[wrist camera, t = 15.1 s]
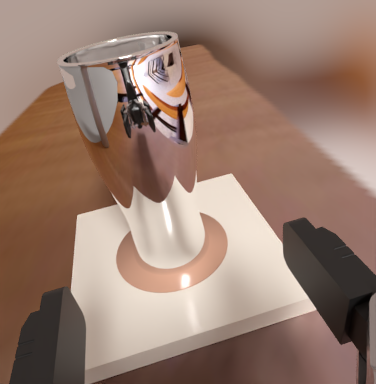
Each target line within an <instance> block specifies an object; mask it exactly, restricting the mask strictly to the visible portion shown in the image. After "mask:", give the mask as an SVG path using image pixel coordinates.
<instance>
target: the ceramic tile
mask: <svg viewBox="0 0 376 384" xmlns="http://www.w3.org/2000/svg"><path fill="white" fill-rule="evenodd" d="M197 203H198V208H199V213H200V216H201V218H202V221H203V223H204V225H205V227H206V230H207V232H208V235H209V240H210V243H209V249H208V251H207V253H206V255H205V256H204V258H203V259H202V260H201V261H200V262H199V263H198V264H197V265H195V266H194V267H192V268H191V269H189V270H187V271H184V272H182V273H179V274H174V275H165V276H163V275H155V274H151V273H148V272H146V271H145V270H143V269H142V268H141V267H140V266H139V265H138V264H137V262H136V260H135V257H134V252H133V242H132V235H131V230H130V227H129V224H128V222H127V220H126V217H125V215H124V214H123V212H122V210H121V209H120V207H119V205H118V204H117V205H113V206H110V207H106V208H102V209H98V210H95V211H91V212H87V213H84V214H80V215H77V226H76V237H75V249H74V261H73V272H72V284H71V293H72V295H73V296H74V298H75V300H76V302H77V303H78V305H79V307H80V309H81V310H82V312H83V315H84V318H85V322H86V353H85V384H91V383H94V382H97V381H100V380H103V379H106V378H109V377H113V376H116V375H119V374H122V373H125V372H128V371H131V370H134V369H137V368H140V367H143V366H146V365H149V364H152V363H155V362H158V361H161V360H165V359H168V358H171V357H174V356H177V355H180V354H183V353H186V352H189V351H192V350H195V349H198V348H201V347H204V346H207V345H210V344H213V343H217V342H220V341H223V340H226V339H229V338H232V337H235V336H238V335H241V334H244V333H247V332H250V331H253V330H256V329H259V328H262V327H265V326H269V325H272V324H275V323H278V322H281V321H284V320H287V319H290V318H293V317H296V316H299V315H302V314H305V313H308V312H311V311H314V310H317V309H316V308H315V306H314V305H313V303H312V302H311V300H310V299H309V297H308V296H307V294H306V293H305V292H304V290H303V289H302V287H301V286H300V284H299V283H298V281H297V280H296V278H295V277H294V275H293V274H292V272H291V271H290V270H289V268H288V266H287V264H286V262H285V259H284V256H283V244H282V243H281V241H280V240H279V239H278V237H277V236H276V234H275V233H274V232H273V230H272V229H271V227H270V226H269V225H268V223H267V222H266V220H265V219H264V218H263V216H262V215H261V214H260V212H259V211H258V209H257V208H256V207H255V205H254V204H253V202H252V201H251V200H250V198H249V197H248V196H247V194H246V193H245V191H244V190H243V189H242V187H241V186H240V184H239V183H238V182H237V180H236V179H235V177H234V176H233V175H232V173H231V174H228V175H224V176H220V177H217V178H213V179H209V180H205V181H202V182H198V183H197Z"/></svg>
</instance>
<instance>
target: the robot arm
mask: <svg viewBox="0 0 376 384" xmlns="http://www.w3.org/2000/svg"><path fill="white" fill-rule="evenodd" d="M283 256H284V259H285V262H286V264H287V266H288V268H289V270H290V271H291V272H292V274H293V275H294V277H295V278H296V280H297V281H298V283H299V284H300V286H301V287H302V289H303V290H304V292H305V293H306V294H307V296H308V297H309V299H310V300H311V302H312V303H313V305H314V306H315V308H316V309H317V311H318V312H319V314H320V315H321V316H322V318H323V319H324V321H325V322H326V324H327V325H328V327H329V328H330V330H331V331H332V333H333V334H334V336H335V337H336V338H337V340H338V341H339V343H340V344H341V345H342V344H345V343H348V342H351V341H352V342H353V343H354V345H355V346H356V348H357V349H358V350H357V369H356V384H376V275H375V274H374V273H373V272H372V271H371V270H370V269H369V268H368V267H367V266H366V265H365V264H364V263H363V262H362V261H361V260H360V259H359V258H358V257H357V256H356V255H354V252H353V251H352V250H351V249H350V248H349V247H348V246H346V244H345V243H344V242H343V241H342V240H341V239H340V238H339V237H338V236H337V235H336V234H335V233H333V232H331V231H329V230H327V229H325V228H323V227H320V228H317V229H315V227H314V226H313V225H312V224H311V223H310V222H309V221H308V220H307V219H306V218H300V219H297V220H293V221H290V222H286V223H284V225H283ZM85 353H86V322H85V318H84V315H83V312H82V310H81V309H80V307H79V305H78V303H77V302H76V300H75V298H74V296H73V295H72V293H71V291H70V289H69V288H68V287H62V288H59V289H55V290H52V291H49V292H45V293H44V294H43V295H42V299H41V305H40V310H39V311H36V312H33V313H31V314H30V315H29V317H28V319H27V320H26V322H25V323H24V325H23V327H22V328H21V333H20V337H19V342H18V347H17V351H16V356H15V358H16V360H15V361H14V365H13V369H12V374H11V378H10V383H9V384H85Z"/></svg>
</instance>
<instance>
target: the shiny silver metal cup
mask: <svg viewBox="0 0 376 384" xmlns="http://www.w3.org/2000/svg"><path fill="white" fill-rule="evenodd" d="M57 64H58V66H59V68H60V71H61V74H62V77H63V81H64V84H65V88H66V91H67V95H68V98H69V102H70V105H71V108H72V112H73V115H74V118H75V121H76V123H77V126H78V129H79V132H80V135H81V137H82V140H83V142H84V144H85V147H86V149H87V151H88V154H89V156H90V158H91V160H92V162H93V164H94V165H95V167H96V169H97V171H98V173H99V175H100V176H101V178H102V180H103V181H104V183H105V184H106V186H107V188H108V189H109V191H110V193H111V194H112V196H113V197H114V199H115V200H116V202H117V204H118V205H119V207H120V209H121V210H122V212H123V214H124V215H125V217H126V220H127V222H128V224H129V227H130V230H131V235H132V242H133V252H134V257H135V260H136V262H137V264H138V265H139V266H140V267H141V268H142V269H143V270H145V271H146V272H148V273H151V274H155V275H163V276H165V275H174V274H179V273H182V272H184V271H187V270H189V269H191V268H192V267H194V266H195V265H197V264H198V263H199V262H200V261H201V260H202V259H203V258H204V256H205V255H206V253H207V251H208V249H209V243H210V240H209V235H208V232H207V230H206V227H205V225H204V223H203V221H202V218H201V216H200V213H199V208H198V203H197V130H196V122H195V114H194V107H193V102H192V97H191V92H190V87H189V83H188V78H187V74H186V70H185V66H184V62H183V59H182V55H181V51H180V46H179V42H178V35H177V34H176V33H173V32H151V33H142V34H136V35H130V36H125V37H120V38H115V39H110V40H106V41H102V42H99V43H95V44H92V45H89V46H85V47H82V48H79V49H76V50H74V51H71V52H69V53H67V54H65V55H63V56H61V57H60V58H59V59H58V60H57Z"/></svg>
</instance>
